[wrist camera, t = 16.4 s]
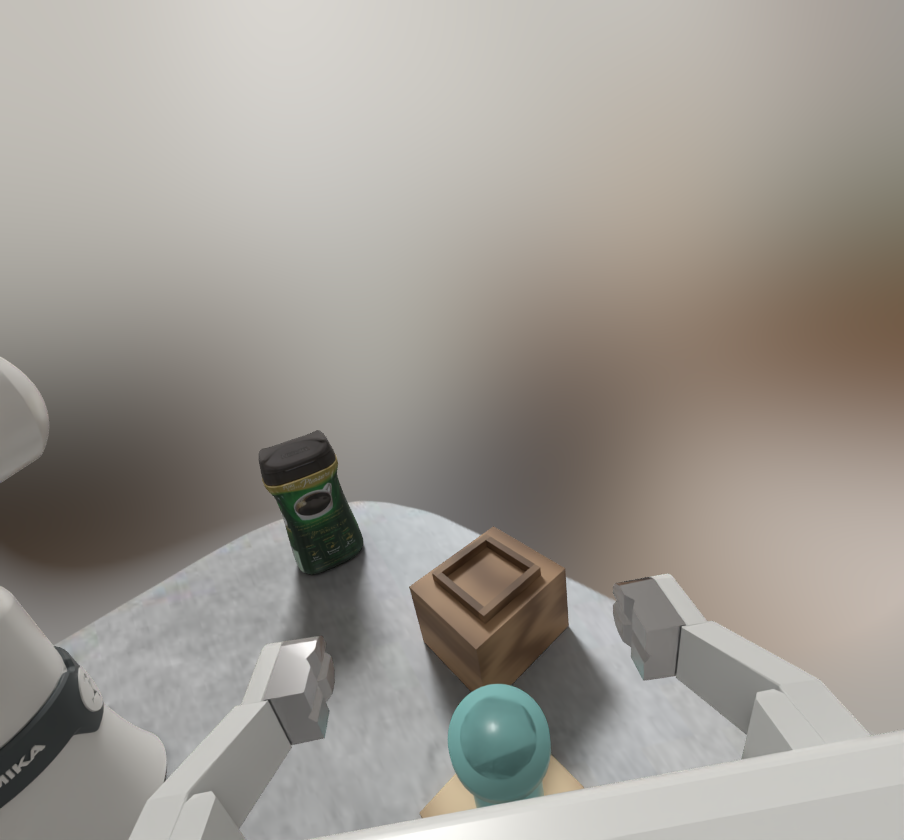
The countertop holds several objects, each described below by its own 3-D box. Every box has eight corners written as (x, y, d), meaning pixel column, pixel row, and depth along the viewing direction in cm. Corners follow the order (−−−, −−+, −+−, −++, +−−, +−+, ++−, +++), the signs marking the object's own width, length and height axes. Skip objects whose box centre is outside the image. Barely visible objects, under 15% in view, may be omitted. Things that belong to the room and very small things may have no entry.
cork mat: (520, 977, 24) (519, 973, 24) (421, 816, 32) (419, 812, 31) (615, 824, 30) (615, 819, 29) (511, 717, 37) (510, 713, 37)
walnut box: (487, 709, 38) (474, 641, 34) (423, 641, 45) (407, 579, 42) (568, 625, 44) (564, 560, 41) (500, 578, 52) (492, 519, 48)
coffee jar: (355, 525, 66) (322, 420, 59) (370, 553, 60) (335, 438, 52) (293, 552, 63) (250, 443, 55) (302, 585, 56) (254, 466, 49)
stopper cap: (503, 906, 26) (483, 825, 22) (453, 801, 32) (430, 720, 28) (578, 833, 29) (572, 749, 25) (520, 747, 34) (508, 666, 30)
